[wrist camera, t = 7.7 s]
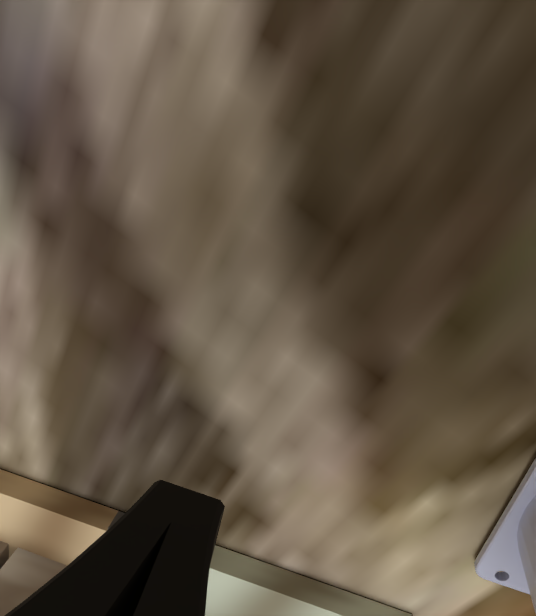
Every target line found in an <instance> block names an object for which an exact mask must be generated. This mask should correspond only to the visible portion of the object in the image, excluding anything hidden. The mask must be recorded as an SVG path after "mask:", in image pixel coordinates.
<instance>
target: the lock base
mask: <svg viewBox="0 0 536 616" xmlns="http://www.w3.org/2000/svg"><path fill="white" fill-rule="evenodd" d="M124 514H125V513H123V512H120V511H117V510H115V509H112V508H109V507H106V506H103V505H100V504H98V503H95V502H92V501H89V500H86V499H83V498H81V497H78V496H75V495H72V494H69V493H66V492H64V491H61V490H58V489H55V488H52V487H49V486H47V485H44V484H41V483H38V482H35V481H32V480H30V479H27V478H24V477H21V476H18V475H15V474H13V473H10V472H7V471H4V470H1V469H0V616H5V615H6V614H7V613H9V612H10V611H11V610H13V609H14V608H15V607H17V606H18V605H19V604H20V603H22V602H23V601H24V600H25V599H27V598H28V597H29V596H30V595H32V594H33V593H34V592H35V591H37V590H38V589H39V588H40V587H42V586H43V585H44V584H45V583H47V582H48V581H49V580H50V579H52V578H53V577H54V576H55V575H57V574H58V573H59V572H60V571H62V570H63V569H64V568H65V567H66V566H68V565H69V564H70V563H71V562H72V561H73V560H75V559H76V558H77V557H78V556H79V555H80V554H81V553H82V552H84V551H85V550H86V549H87V548H88V547H89V546H90V545H91V544H93V543H94V542H95V541H96V540H97V539H98V538H99V537H100V536H102V535H103V534H104V533H105V532H106V531H107V530H108V529H109V528H110V527H111V526H112V525H113V524H114V523H116V522H117V521H118V520H119V519H120V518H121V517H122V516H123V515H124ZM205 616H412V614H409V613H406V612H404V611H401V610H398V609H395V608H392V607H389V606H387V605H384V604H381V603H378V602H375V601H372V600H370V599H367V598H364V597H361V596H358V595H355V594H353V593H350V592H347V591H344V590H341V589H338V588H336V587H333V586H330V585H327V584H324V583H321V582H319V581H316V580H313V579H310V578H307V577H304V576H302V575H299V574H296V573H293V572H290V571H287V570H285V569H282V568H279V567H276V566H273V565H270V564H268V563H265V562H262V561H259V560H256V559H253V558H251V557H248V556H245V555H242V554H239V553H236V552H234V551H231V550H228V549H225V548H222V547H219V546H217V545H215V547H214V551H213V555H212V559H211V563H210V569H209V578H208V586H207V598H206V610H205Z"/></svg>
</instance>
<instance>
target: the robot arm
mask: <svg viewBox="0 0 536 616" xmlns="http://www.w3.org/2000/svg"><path fill="white" fill-rule="evenodd" d="M224 507H225V506H224V505H223V503H222V502H221V500H218V499H215V498H212V497H209V496H207V495H204V494H201V493H198V492H195V491H192V490H189V489H186V488H183V487H180V486H177V485H174V484H172V483H169V482H166V481H163V480H159V481H157V482H155V483H154V484H153V485H152V486H151V487H150V488H149V489H148V490H147V491H146V493H145V494H144V495H143V496H142V497H141V498H140V499H139V500H138V501H137V502H136V503H135V504H134V505H133V506H132V507H131V508H130V509H129V510H128V511H127V512H126V513H125V514H124V515H123V516H122V517H121V518H120V519H119V520H118V521H117V522H116V523H114V524H113V525H112V526H111V527H110V528H109V529H108V530H107V531H106V532H105V533H104V534H103V535H102V536H100V537H99V538H98V539H97V540H96V541H95V542H94V543H93V544H91V545H90V546H89V547H88V548H87V549H86V550H85V551H84V552H82V553H81V554H80V555H79V556H78V557H77V558H76V559H75V560H73V561H72V562H71V563H70V564H69V565H68V566H66V567H65V568H64V569H63V570H62V571H60V572H59V573H58V574H57V575H55V576H54V577H53V578H52V579H50V580H49V581H48V582H47V583H45V584H44V585H43V586H42V587H40V588H39V589H38V590H37V591H35V592H34V593H33V594H32V595H30V596H29V597H28V598H27V599H25V600H24V601H23V602H22V603H20V604H19V605H18V606H17V607H15V608H14V609H13V610H11V611H10V612H9V613H7V614H6V615H5V616H205V610H206V598H207V586H208V578H209V569H210V563H211V559H212V555H213V551H214V547H215V543H216V539H217V535H218V531H219V527H220V523H221V519H222V515H223V511H224ZM474 565H475V570H476V573H477V574H478V576H479V577H481V578H483V579H486V580H489V581H492V582H495V583H498V584H500V585H503V586H506V587H509V588H512V589H515V590H518V591H521V592H524V593H527V594H530V595H531V598H532V602H533V606H534V609H535V613H536V458H535V460H534V461H533V463H532V465H531V467H530V468H529V470H528V472H527V473H526V475H525V477H524V478H523V480H522V482H521V483H520V485H519V487H518V488H517V490H516V492H515V494H514V495H513V497H512V499H511V500H510V502H509V504H508V505H507V507H506V509H505V510H504V512H503V514H502V516H501V517H500V519H499V521H498V522H497V524H496V526H495V527H494V529H493V531H492V532H491V534H490V536H489V537H488V539H487V541H486V543H485V544H484V546H483V548H482V549H481V551H480V553H479V554H478V556H477V558H476V559H475V563H474ZM499 571H505V572H499Z"/></svg>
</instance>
